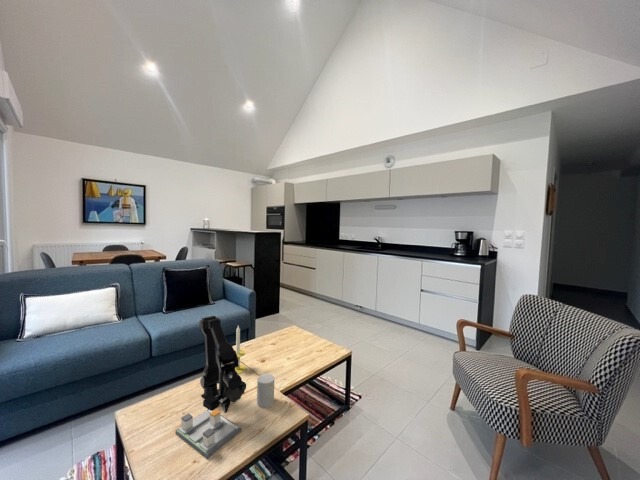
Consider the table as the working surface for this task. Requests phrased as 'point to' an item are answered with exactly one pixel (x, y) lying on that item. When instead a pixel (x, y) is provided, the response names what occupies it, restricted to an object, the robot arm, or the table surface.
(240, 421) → the table surface
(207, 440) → the toggle right
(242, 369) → the candle
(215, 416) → the toggle mid
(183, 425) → the toggle left
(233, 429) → the panel
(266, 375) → the grey cylinder
